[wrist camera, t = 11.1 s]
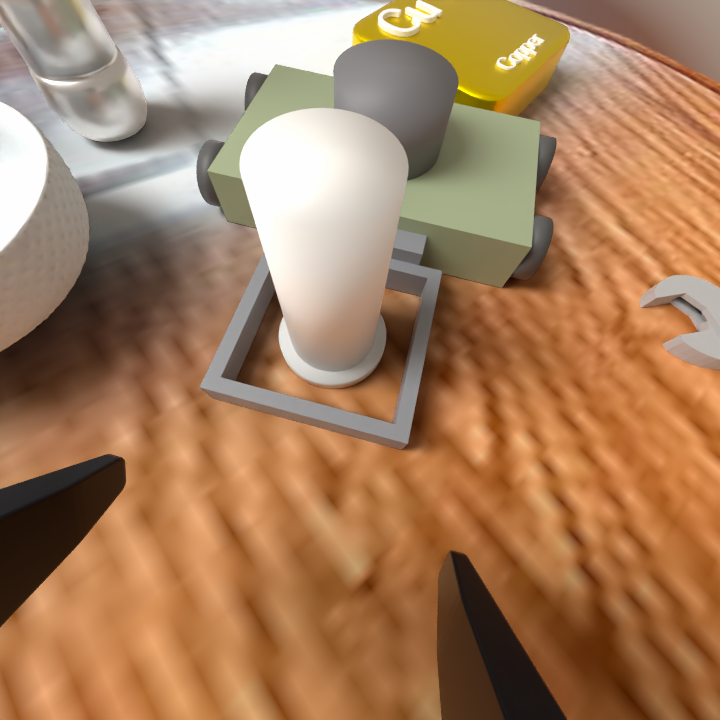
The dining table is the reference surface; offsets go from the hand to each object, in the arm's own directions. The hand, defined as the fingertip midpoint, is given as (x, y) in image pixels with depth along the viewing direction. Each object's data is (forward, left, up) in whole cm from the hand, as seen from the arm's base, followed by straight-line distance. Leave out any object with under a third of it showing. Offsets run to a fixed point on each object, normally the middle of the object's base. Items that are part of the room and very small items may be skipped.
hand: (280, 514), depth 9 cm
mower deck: (+12, +12, -9) cm, 19 cm away
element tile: (+31, +24, -10) cm, 41 cm away
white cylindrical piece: (+6, +7, -9) cm, 13 cm away
